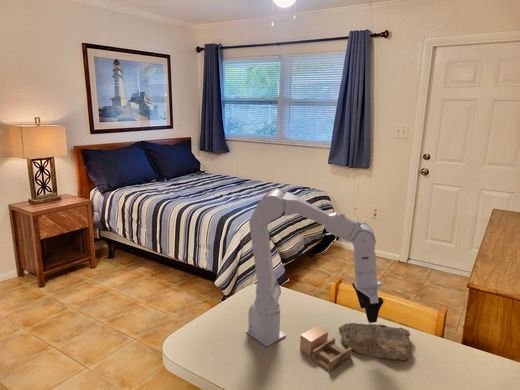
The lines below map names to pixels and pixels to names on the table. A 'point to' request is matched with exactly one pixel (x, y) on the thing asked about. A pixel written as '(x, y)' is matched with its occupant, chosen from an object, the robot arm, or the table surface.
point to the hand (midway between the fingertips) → (368, 314)
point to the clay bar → (313, 339)
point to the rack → (330, 355)
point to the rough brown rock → (376, 340)
